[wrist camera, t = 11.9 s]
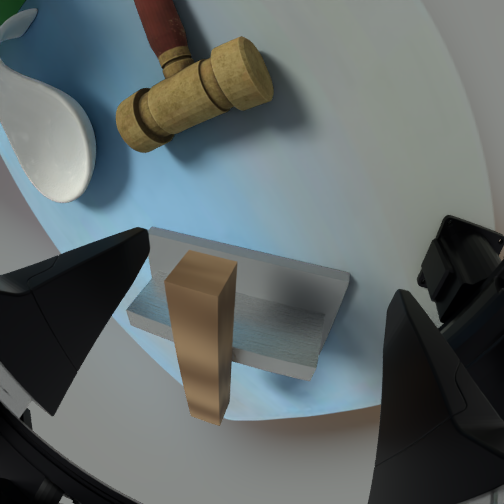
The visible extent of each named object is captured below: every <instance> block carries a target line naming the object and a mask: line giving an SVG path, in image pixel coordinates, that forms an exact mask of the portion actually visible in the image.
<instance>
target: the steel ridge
mask: <svg viewBox="0 0 504 504" xmlns="http://www.w3.org/2000/svg"><path fill="white" fill-rule="evenodd" d="M169 274H170V273H167V272H163V271H160V270H159V271H158V272H157V273H156V274H155V275H154V276H153V278H152V279H151V280H150V281H149V282H148V284H147V285H146V286H145V287H144V288H143V290H142V291H141V292H140V293H139V295H138V296H137V297H136V298H135V299H134V301H133V302H132V303H131V304H130V306H129V307H128V308H127V309H126V311H127V314H128V318H129V321H130V324H131V325H132V326H134V327H137V328H139V329H142V330H144V331H147V332H149V333H152V334H154V335H157V336H160V337H162V338H165V339H168V340H170V341H173V342H174V338H173V333H172V327H171V322H170V316H169V310H168V304H167V298H166V291H165V285H164V280H165V279H166V278H167V276H168V275H169ZM324 317H325V314H322V313H318V312H314V311H310V310H305V309H301V308H297V307H293V306H289V305H285V304H281V303H277V302H273V301H269V300H265V299H261V298H257V297H253V296H249V295H245V294H242V293H238V292H236V294H235V310H234V327H233V345H232V361H233V362H237V363H240V364H244V365H247V366H251V367H254V368H258V369H261V370H265V371H269V372H273V373H277V374H281V375H285V376H289V377H293V378H297V379H302V380H306V381H310V380H311V378H312V376H313V374H314V372H315V370H316V367H317V362H318V356H319V350H320V344H321V337H322V331H323V324H324Z"/></svg>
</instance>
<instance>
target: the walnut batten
mask: <svg viewBox="0 0 504 504" xmlns="http://www.w3.org/2000/svg"><path fill="white" fill-rule="evenodd" d="M236 278H237V261H232V260H228V259H224V258H220V257H216V256H212V255H208V254H204V253H200V252H196V251H192V250H188V252H187V253H186V254H185V255H184V257H183V258H182V259H181V260H180V261H179V263H178V264H177V265H176V266H175V268H174V269H173V270H172V271H171V273H170V274H169V275H168V276H167V278H166V279H165V280H164V285H165V291H166V298H167V304H168V310H169V316H170V322H171V327H172V333H173V338H174V343H175V348H176V353H177V358H178V363H179V367H180V372H181V377H182V381H183V385H184V390H185V394H186V398H187V402H188V406H189V409H190V414H191V416H193V417H195V418H198V419H201V420H204V421H206V422H209V423H212V424H215V425H218V426H220V424H221V422H222V419H223V417H224V414H225V412H226V409H227V407H228V404H229V402H230V382H231V363H232V345H233V327H234V310H235V294H236Z"/></svg>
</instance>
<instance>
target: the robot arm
mask: <svg viewBox="0 0 504 504" xmlns="http://www.w3.org/2000/svg"><path fill="white" fill-rule="evenodd" d="M448 221H451V223H450V224H447V222H448ZM500 239H501V241H500V242H499V240H500ZM503 246H504V236H503V235H502V234H500V233H498V232H495V231H493V230H490V229H488V228H485V227H482V226H480V225H477V224H474V223H471V222H469V221H466V220H463V219H460V218H457V217H454V216H451V215H447V216H445V217H444V219H443V221H442V223H441V226H440V228H439V231H438V233H437V236H436V238H435V239H434V240H432V242H431V245H430V247H429V249H428V252H427V254H426V256H425V258H424V260H423V263H422V265H421V267H422V269H421V271H420V273H419V275H418V277H417V282H418V285H419V286H421V287H425V288H428V291H429V295H430V298H431V300H432V301H434V302H435V303H436V307H437V311H438V315H439V319H440V322H442V323H444V324H443V325H442V326H441V327H440V328H437V327H436V326H435V324H434V323H433V322H432V320H431V319H430V318H429V316H428V315H427V314H426V312H425V311H424V310H423V308H422V307H421V306H420V304H419V303H418V302H417V301H416V299H415V298H414V297H413V295H412V294H411V293H410V292H409V291H407V290H402V289H398V290H397V291H396V293H395V295H394V297H393V299H392V300H391V302H390V304H389V306H388V309H387V316H386V328H385V338H384V347H383V377H382V399H381V414H380V426H379V436H378V445H377V453H376V460H375V468H374V473H373V479H372V485H371V490H370V496H369V500H368V504H504V259H503V260H502V261H501V259H500V258H499V254H500V252H501V250H502V248H503ZM149 253H150V241H149V233H148V230H147V229H144V228H140V227H136V228H133V229H130V230H127V231H124V232H121V233H118V234H115V235H112V236H109V237H107V238H104V239H101V240H98V241H95V242H92V243H90V244H87V245H84V246H81V247H79V248H76V249H73V250H71V251H68V252H65V253H63V254H60V255H59V256H55V257H52V258H50V259H47V260H44V261H42V262H39V263H36V264H33V265H30V266H28V267H25V268H21V269H18V270H16V271H13V272H10V273H7V274H3V275H0V504H60V503H59V501H60V500H61V497H62V496H65V497H67V498H69V499H71V500H73V503H74V504H143V503H141V502H139V501H137V500H135V499H133V498H131V497H129V496H127V495H125V494H123V493H121V492H120V491H118V490H116V489H114V488H112V487H111V486H109V485H107V484H105V483H104V482H102V481H101V480H99V479H97V478H96V477H94V476H93V475H91V474H89V473H88V472H86V471H85V470H83V469H82V468H80V467H79V466H77V465H76V464H74V463H73V462H71V461H70V460H69V459H68V458H66V457H65V456H63V455H62V454H61V453H60V452H58V451H57V450H55V449H54V448H53V447H52V446H50V445H49V444H48V443H47V442H45V441H44V440H43V439H42V438H41V437H40V436H38V435H37V434H36V433H35V432H34V431H33V430H32V423H31V414H30V410H29V409H28V408H27V407H28V405H29V404H30V402H31V401H34V402H35V403H36V404H37V405H38V406H40V407H41V408H42V409H43V410H44V411H46V412H47V413H48V414H50V415H51V416H54V415H55V413H56V411H57V409H58V407H59V405H60V403H61V401H62V400H63V398H64V396H65V394H66V392H67V390H68V388H69V387H70V385H71V383H72V381H73V379H74V378H75V376H76V374H77V371H78V370H79V369H80V366H81V365H82V363H83V362H84V360H85V358H86V356H87V355H88V353H89V351H90V350H91V348H92V346H93V345H94V343H95V341H96V339H97V338H98V337H99V335H100V333H101V332H102V330H103V329H104V327H105V325H106V324H107V322H108V321H109V319H110V317H111V316H112V314H113V313H114V311H115V310H116V308H117V307H118V305H119V304H120V302H121V301H122V299H123V298H124V296H125V295H126V293H127V292H128V290H129V289H130V287H131V285H132V284H133V282H134V280H135V279H136V277H137V275H138V273H139V271H140V269H141V268H142V266H143V264H144V262H145V260H146V259H147V257H148V255H149ZM423 279H425V280H424V281H421V280H423Z"/></svg>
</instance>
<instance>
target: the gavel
mask: <svg viewBox="0 0 504 504" xmlns="http://www.w3.org/2000/svg"><path fill="white" fill-rule="evenodd" d="M134 2H135V5H136V8H137V11H138V14H139V16H140V19H141V22H142V25H143V28H144V30H145V33H146V36H147V39H148V41H149V44H150V47H151V48H152V50H153V51H154V53H155V55H156V56H157V58H158V59H159V62H160V65H161V67H162V69H163V74H164V76H165V79H164V80H163V81H161V82H159V83H158V84H156V85H154V86H153V87H152V88H151V89H150V88H143V89H140V90H139V91H137V92H136V93H134V94H133V95H131V96H130V97H128V98H127V99H125V100H124V101H122V102H121V103H120V105H119V106H118V108H117V111H116V124H117V128H118V131H119V133H120V135H121V137H122V138H123V140H124V141H125V142H126V143H127V144H128V145H129V146H130V147H131V148H132V149H134V150H136V151H138V152H142V153H146V152H150V151H152V150H154V149H156V148H158V147H160V146H162V145H164V144H166V143H168V142H170V141H171V140H172V139H173V137H174V134H177V133H179V132H182V131H184V130H186V129H188V128H190V127H192V126H195V125H197V124H199V123H201V122H204V121H206V120H208V119H211V118H213V117H216V116H218V115H220V114H223V113H225V112H228V111H229V110H230V108H232V107H234V106H235V107H236V108H237V109H239V110H242V111H244V110H247V109H249V108H252V107H255V106H258V105H261V104H264V103H266V102H269V101H271V100H272V98H273V93H274V91H273V84H272V80H271V77H270V75H269V72H268V70H267V67H266V65H265V63H264V60H263V58H262V56H261V54H260V53H259V51H258V50H257V48H256V47H255V46H254V44H253V43H252V42H251V41H250V40H248V39H246V38H244V37H242V36H241V37H238V38H236V39H234V40H231V41H229V42H227V43H224V44H222V45H220V46H218V47H216V48H214V49H213V50H212V52H211V58H209V59H202V60H200V61H198V62H196V63H195V62H194V60H193V59H191V57H192V56H191V53H190V51H189V48H188V44H187V38H186V32H185V30H184V27H183V25H182V22H181V20H180V18H179V15H178V13H177V10H176V8H175V5H174V3H173V0H134Z"/></svg>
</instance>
